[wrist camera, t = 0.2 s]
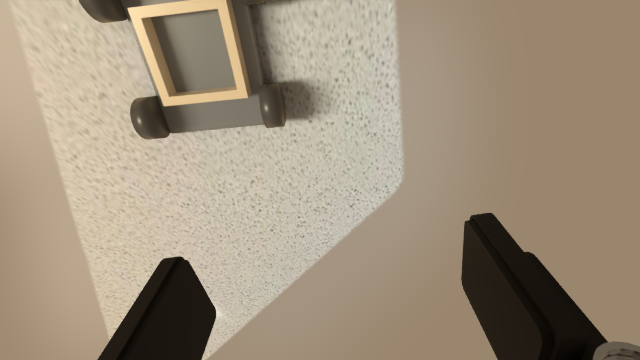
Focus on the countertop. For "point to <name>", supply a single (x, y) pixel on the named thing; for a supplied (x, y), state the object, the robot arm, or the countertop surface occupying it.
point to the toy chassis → (196, 65)
